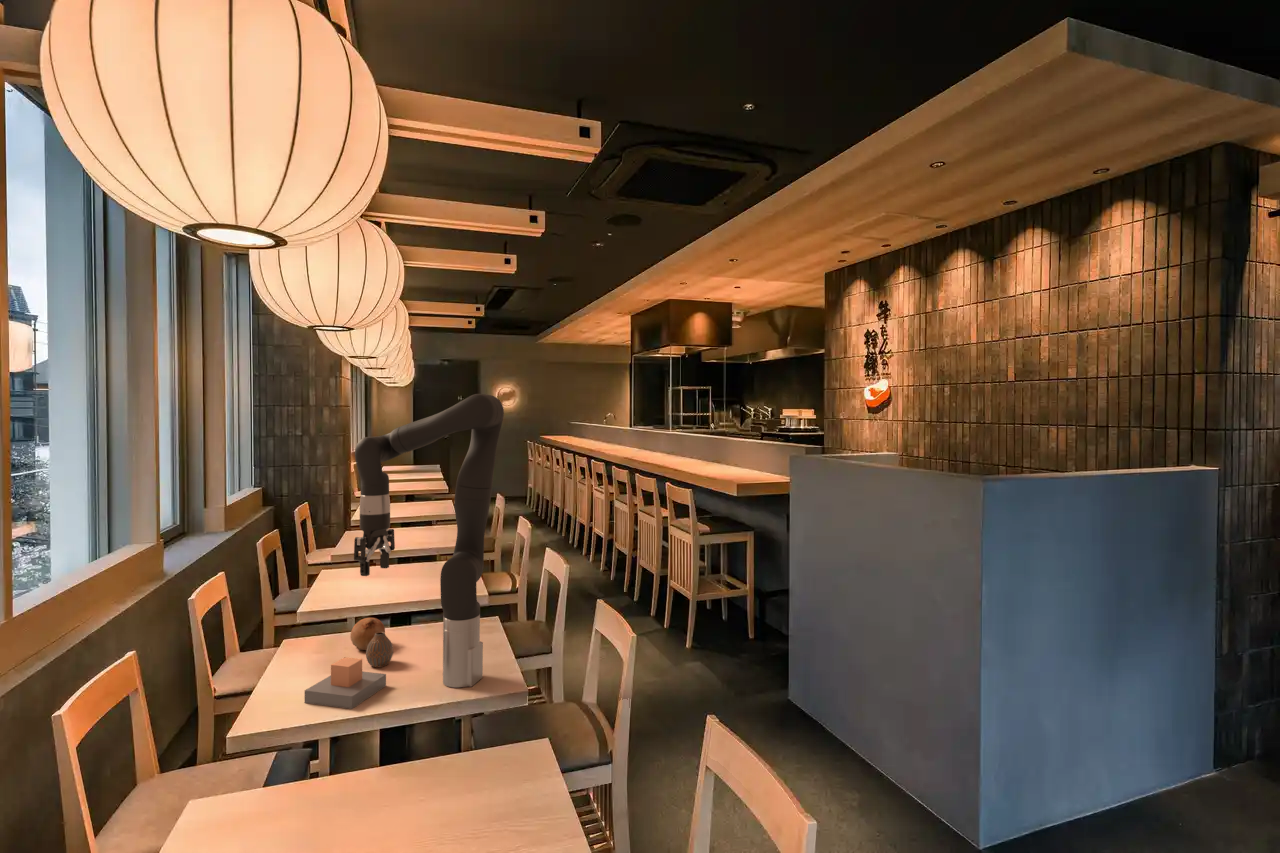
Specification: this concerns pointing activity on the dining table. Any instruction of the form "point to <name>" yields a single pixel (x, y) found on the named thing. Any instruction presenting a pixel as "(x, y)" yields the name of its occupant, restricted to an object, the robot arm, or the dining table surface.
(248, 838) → the dining table surface
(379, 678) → the block
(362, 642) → the brown round piece
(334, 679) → the block
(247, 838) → the dining table surface
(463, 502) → the robot arm
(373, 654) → the vase
